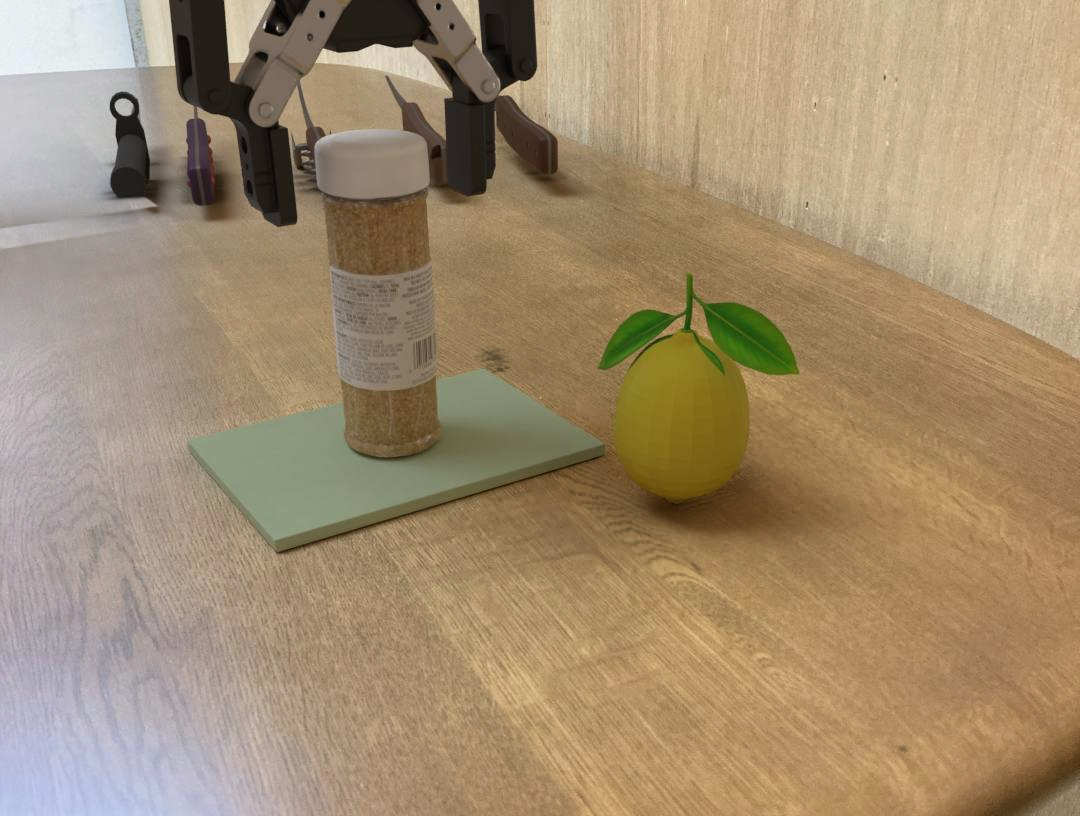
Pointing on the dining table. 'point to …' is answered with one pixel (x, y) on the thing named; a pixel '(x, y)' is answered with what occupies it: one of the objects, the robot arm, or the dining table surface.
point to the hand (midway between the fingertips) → (376, 206)
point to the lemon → (690, 394)
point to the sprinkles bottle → (381, 287)
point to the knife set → (313, 146)
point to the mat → (385, 461)
